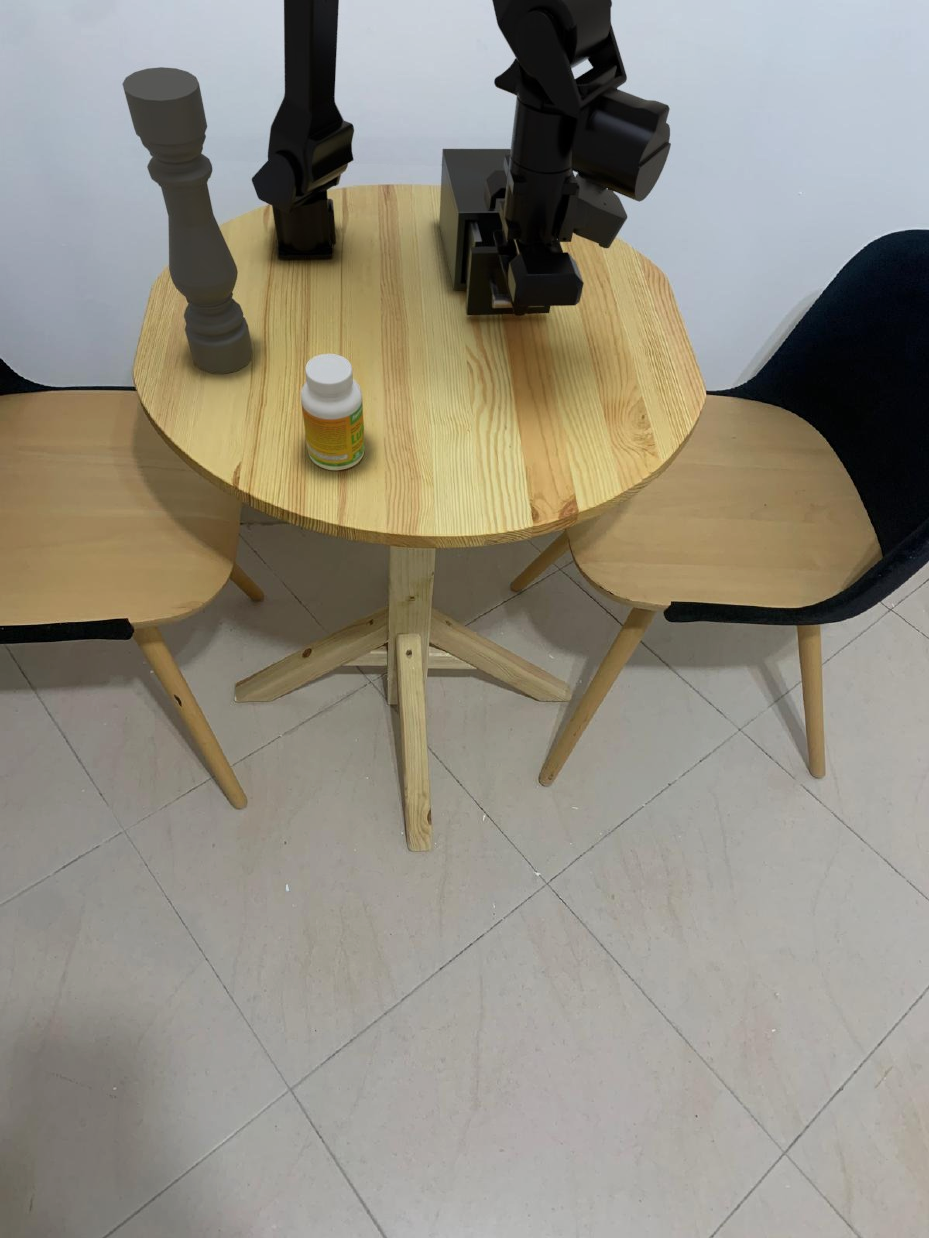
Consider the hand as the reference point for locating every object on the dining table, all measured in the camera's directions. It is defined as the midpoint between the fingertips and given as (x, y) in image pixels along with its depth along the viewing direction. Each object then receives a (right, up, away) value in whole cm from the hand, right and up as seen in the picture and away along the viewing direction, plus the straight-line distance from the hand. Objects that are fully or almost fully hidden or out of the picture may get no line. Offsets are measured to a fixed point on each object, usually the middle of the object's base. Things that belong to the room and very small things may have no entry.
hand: (519, 313), depth 80 cm
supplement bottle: (-18, -16, -7) cm, 25 cm away
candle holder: (-31, -4, 0) cm, 31 cm away
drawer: (-1, +6, +8) cm, 10 cm away
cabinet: (-3, +12, +13) cm, 18 cm away
